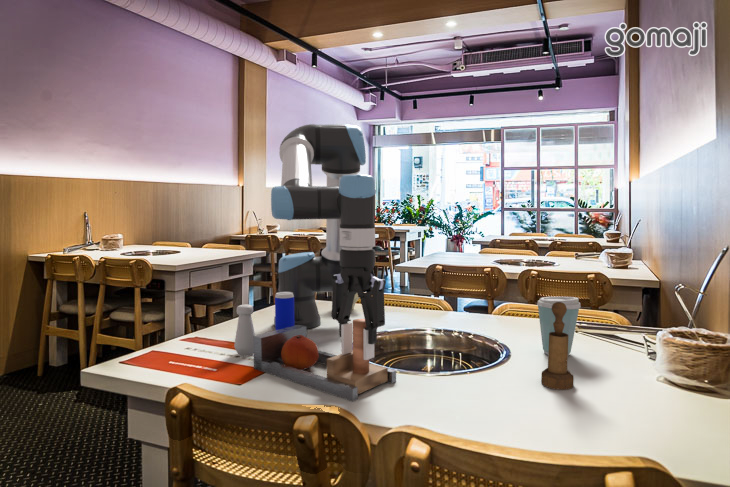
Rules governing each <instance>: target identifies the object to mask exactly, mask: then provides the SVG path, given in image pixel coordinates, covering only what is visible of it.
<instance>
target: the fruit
mask: <svg viewBox="0 0 730 487" xmlns="http://www.w3.org/2000/svg"><path fill="white" fill-rule="evenodd" d="M318 351H319V349H318V346H317V344H316V342H314V341H313V340H312V339H310V338H309V337H304V336H302V335H297V336H294V337H292V338H291V339H289V340H288V341H286V342H285V344H284V345H283V348H282V351H281V357H282V360H283V362H284V365H286V366H290V367H293V368H296V369H300V370H303V371H305V370H306V369H309V368H311V367H313V366H314V365H315V364H316V363H317V360H318V357H319V354H318Z"/></svg>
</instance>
